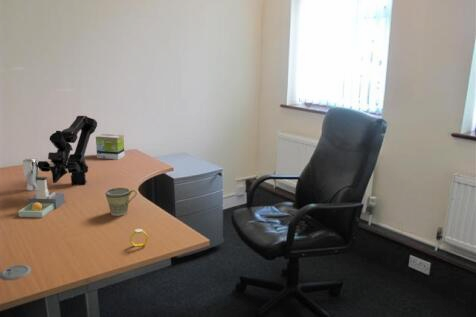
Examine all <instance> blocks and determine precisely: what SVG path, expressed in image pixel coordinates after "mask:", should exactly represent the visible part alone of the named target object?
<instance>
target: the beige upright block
mask: <svg viewBox="0 0 476 317" xmlns="http://www.w3.org/2000/svg"><path fill="white" fill-rule="evenodd" d="M47 178H48V177H47V176H39V177H36V181H37V190H35V194H36V199H47V198H48V197H47V196H49V193H50V192H49V189H48V182H47V180H48V179H47Z"/></svg>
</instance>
